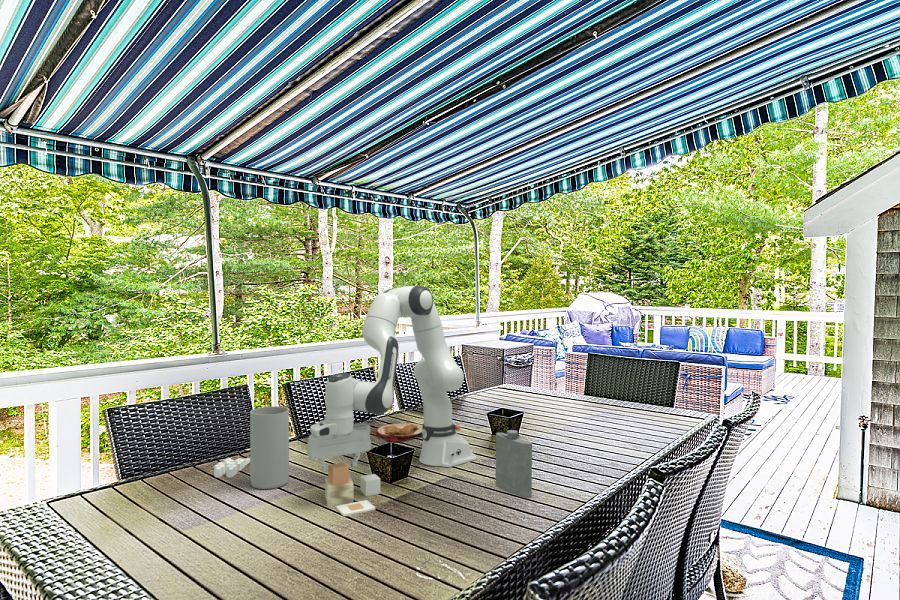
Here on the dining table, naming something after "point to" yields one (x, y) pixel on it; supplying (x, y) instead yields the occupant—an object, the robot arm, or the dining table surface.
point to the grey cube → (370, 485)
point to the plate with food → (398, 431)
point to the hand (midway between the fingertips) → (339, 468)
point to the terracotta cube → (338, 473)
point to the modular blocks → (230, 467)
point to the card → (355, 508)
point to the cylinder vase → (269, 447)
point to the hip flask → (514, 464)
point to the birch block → (339, 493)
